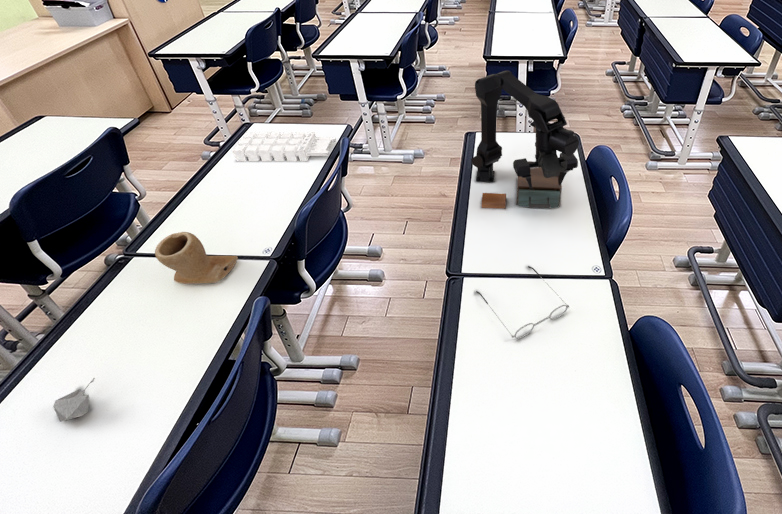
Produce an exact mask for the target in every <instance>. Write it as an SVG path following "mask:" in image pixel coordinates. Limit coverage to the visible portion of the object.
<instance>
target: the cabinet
mask: <svg viewBox="0 0 782 514" xmlns="http://www.w3.org/2000/svg"><path fill="white" fill-rule="evenodd" d="M527 162H528V163H529V162H533V161H529V160H527ZM530 174H531V183H532V189H557V191H560V197H559V206H558V208H559V207H560V206H561V199H562V190H563V188H562V184H561V185H560V186H559V184H558V176H557V177H556V176H555V177H550V178H545V177H544V175H543V171H542V168H535V169H530ZM516 178H517V179H516V206H518V199H519V189H521V188H529V185H528V183H527V180H526V178H522V177H519V176H517V175H516Z"/></svg>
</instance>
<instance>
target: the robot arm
mask: <svg viewBox="0 0 782 514" xmlns="http://www.w3.org/2000/svg"><path fill="white" fill-rule="evenodd" d="M474 90H475V97H476V98H477V99H478V101H479V102H480V126H481V127H480V128H481V129H480V131H481V134H480V136H481V140H480V142H479V144H478V145H477V147H476V155H475V156H473V157H472V158H470V160H471V164H472V165H473V166H474V167H475V168H476V169H477V171H476V176H475V182H478V183H494V182H495V174H496V173H495V170H494V164H495V163H498V162H499V160H500V159H501V158H502V157H503V147H502V145H500V144H499V143H498V141H497V103H498V101H499V100H500V98H501V96H502V92H503V90H504V92H506V93H507V94H509V96H511V97H512V98H513V99H514V100H516V101H517V102H518V103H519V104H521V105H522V106H523V107H524V108H525V109H526V111H527V116H529V118H530V119H531V120H532V122H530V123H529V125H530V126H531V127H532V128H535V142H534V146H535V154H534V158H535V160H534V161H532V162H529V163H528V162H527V161H528V160H527V158H519V159H514V161H513V162H512V168H513V170H514V172H515V174H516V177H517V176H519V177H522V178H526V180H527V183H528V185H529V188H530V190H532V183H531V174H530V169H535V168H542V171H543V175H544V177H545V178H550V177H555V176H556V177H557V176H558V184H559V186H560V185H562V184H563V181H564V179H565V177H566V175H567V174H568V173H569V172H571V171H573V170H574V169H577V168H578V167H579V162H578V161H579V159H578V158H577V156H576V155H575V153H576V151H578V148H579V145H580V140H579V137H578V136H577V135H575V131H574V130H571V129H567V128H565V126H567V125H568V123H567V120H566V117H565V115H564V114H563V111H562V109H561V107H560V106H559V105H560V104H559V103H558V102H557V101H556V100H555V99H553V98H552V97H549V96H548V95H544V94H538V93H537V92H535V91H534V90H533V89H532V88H530V87H529V86H528V85H526V83H523V82H522V80H520V79H519V78H517V77H516V76H515V75H514V74H513V72H512V71H510V70H503V71H500V72H498V73H492V74H489V75H486V76H483V77H481V78H478V79H476V80H475V82H474ZM552 121H553V122H552ZM557 152H559V156H558V153H557Z"/></svg>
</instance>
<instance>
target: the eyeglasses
mask: <svg viewBox="0 0 782 514" xmlns="http://www.w3.org/2000/svg"><path fill="white" fill-rule="evenodd" d="M527 267H528V269H532V270H533V271H534V273H536V275H537V276H538V277H539V278H541V279H542V280H544V278H542V275H540V274H539V273H538V271H537V270H536V269H535V268H534V267H532V266H529V265H528V266H527ZM546 285H547V286H548V287H549V288H550V289H551V290H552V291H553V292H554V293H555V294H556V295H558V293H557V292H556V291H555V290H554V289H553V288H552V287H551V286H550V285H549V284H548V283H546ZM475 291H476V292H475V293H477V294H479V296H481V298H482V299H483V301H484V302H485V303H486V305H488V306H489V308H490V309H491V310H492V312H493V313H494V314H495V315H496V317H497V318H498V320H499V321H500V322H501V324H502V325H503V326H504V328H505V329H506V331H508V333H509V335H510V336H511V338H512V339H514V338H515V339H516V340H519V339H522V338H524V337H526V336H528V335H529V334H530V333H532V331H533V330H534V328H535V327H536V326H538V325H540V324H542V323H543V322H545V321H547V320H549V319H550V320H551V321H552V320H556V319H558V318H560V317H561V316H564V314H565V313H566V312H567V311H568V309H569V308H570V305H569V304H567V303H566V302H565V301H564V300H563V299H562V298H560V300H561V301H562V302H563V303H565V304H561V305H559V306H557V307H556V308H554V309H553V310H552V311H551V312H550V313H549V315H548V316H547V317H544V318H543V319H541V320H539V321H537V322H536V323H533V322H529V323H526V324H524V325H522V326H521V327H520V328H518V329H517V330H516V331H515V333H514V334H512V333H511V332H510V331H509V329H508V328H507V326H505V323H504V322H503V321H502V320H501V319H500V317H499V316H498V314H496V312H495V311H494V310H493V308H492V307H491V306H490V305H489V302H488V301H487V299H485V297H484V296H483V295H482V293H481V292H479V291H477V290H475ZM563 307H565V309H564V310H563V312H562V313H560V314H559V315H557V316H554V317H552V315H553V314H554V312H556V311H557V310H559V309H561V308H563ZM531 325H532V327H531V329H530V330H529V331H527V332H526V333H525V334H522V335H521V336H517V334H518V333H519V332H520V331H521V330H522V329H524V328H526V327H528V326H531Z"/></svg>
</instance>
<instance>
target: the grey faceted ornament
mask: <svg viewBox="0 0 782 514" xmlns="http://www.w3.org/2000/svg"><path fill="white" fill-rule="evenodd" d="M94 381H95V377H93V378H92V379H91V381H90V382H89V383H88V384H87V386H86V387H85V388H84V389H83V390H81V389H76V390H75V391H72V392H70V393H69V394H67V395H64V396H62V397H60V398H58V399H56V400H54V403H53V405H52V408H53V410H54V411H55V414H56V416H57V419H58V421H59V422H60V423H61V422H64V421H68V420H71V419H75V418H79V417H83V416H85V415H86V414H87V413H88V412H89V401H90V394H85V392H86V389H87V388H88V387H89V385H90V384H92V383H94Z"/></svg>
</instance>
